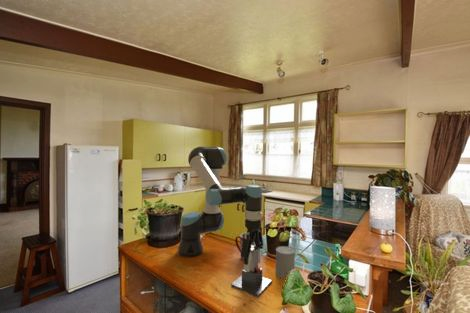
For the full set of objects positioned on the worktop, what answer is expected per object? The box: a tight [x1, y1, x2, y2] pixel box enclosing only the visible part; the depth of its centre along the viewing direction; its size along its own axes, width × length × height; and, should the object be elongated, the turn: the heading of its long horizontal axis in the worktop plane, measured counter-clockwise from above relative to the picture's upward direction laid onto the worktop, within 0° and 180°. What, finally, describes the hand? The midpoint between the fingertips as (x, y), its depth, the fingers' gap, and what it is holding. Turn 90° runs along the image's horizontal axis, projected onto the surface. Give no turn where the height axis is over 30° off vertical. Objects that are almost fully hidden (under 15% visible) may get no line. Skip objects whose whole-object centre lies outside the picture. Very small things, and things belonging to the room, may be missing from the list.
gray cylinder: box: [274, 245, 296, 280], centre depth 119 cm, size 10×10×12 cm
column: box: [249, 245, 260, 273], centre depth 109 cm, size 5×5×16 cm
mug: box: [234, 232, 255, 262], centre depth 136 cm, size 13×9×14 cm
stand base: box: [230, 266, 273, 298], centre depth 109 cm, size 14×14×8 cm
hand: (252, 266), depth 109 cm, fingers open, 9 cm apart
